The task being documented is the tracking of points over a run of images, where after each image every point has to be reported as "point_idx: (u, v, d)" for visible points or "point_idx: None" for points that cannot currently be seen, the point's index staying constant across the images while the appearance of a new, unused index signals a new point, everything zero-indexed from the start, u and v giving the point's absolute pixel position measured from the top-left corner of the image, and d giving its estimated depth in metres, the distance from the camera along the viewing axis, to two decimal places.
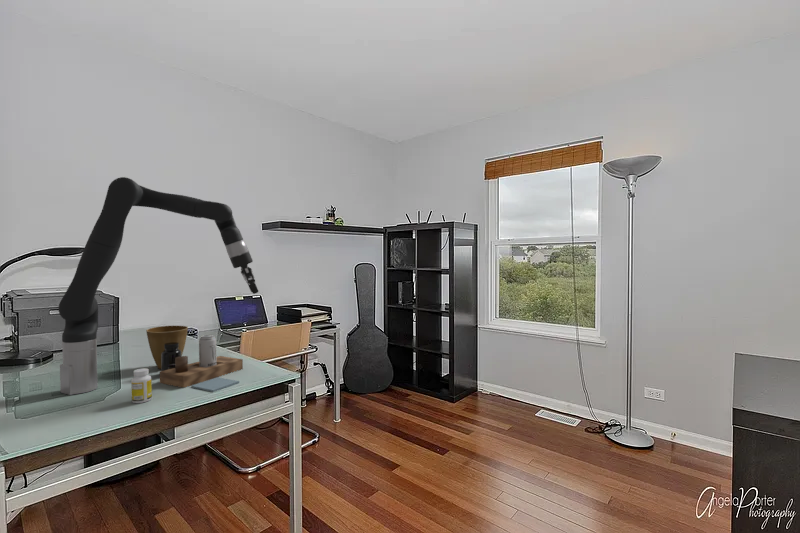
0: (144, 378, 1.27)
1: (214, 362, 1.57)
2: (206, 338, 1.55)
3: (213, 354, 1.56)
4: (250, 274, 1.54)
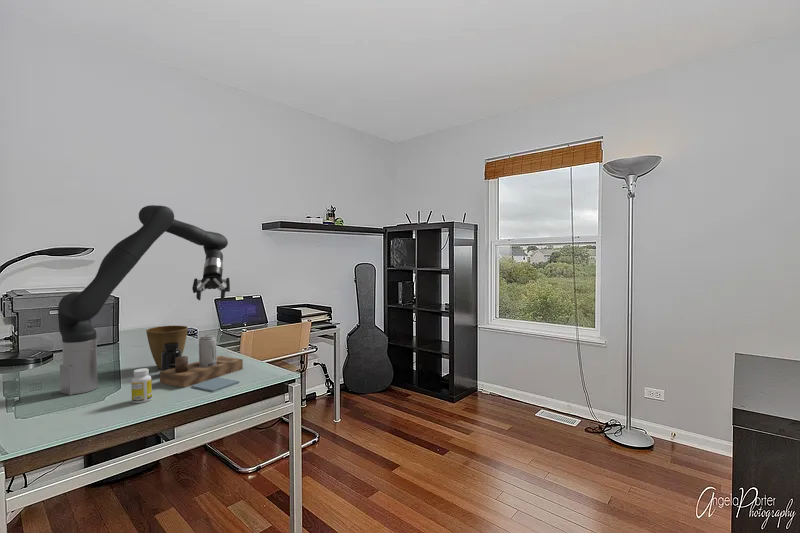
0: (144, 378, 1.27)
1: (214, 362, 1.57)
2: (206, 338, 1.55)
3: (213, 354, 1.56)
4: None
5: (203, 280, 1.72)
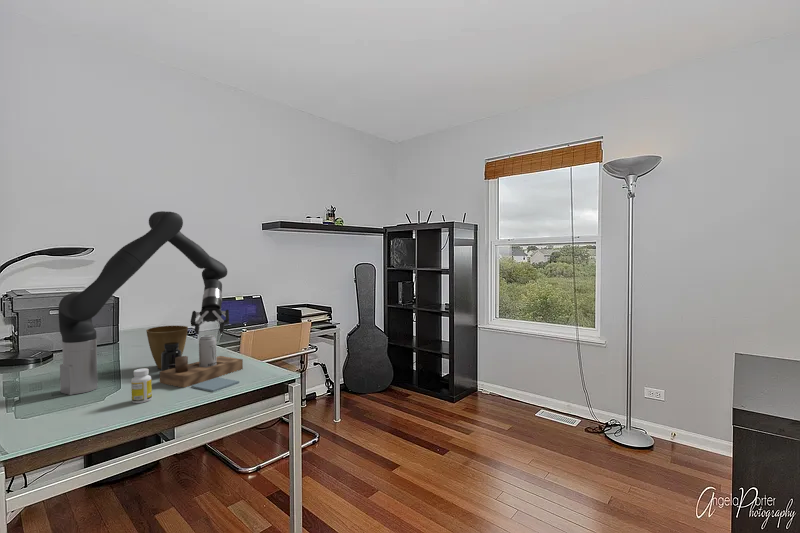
0: (144, 378, 1.27)
1: (214, 362, 1.57)
2: (206, 338, 1.55)
3: (213, 354, 1.56)
4: None
5: (202, 312, 1.68)
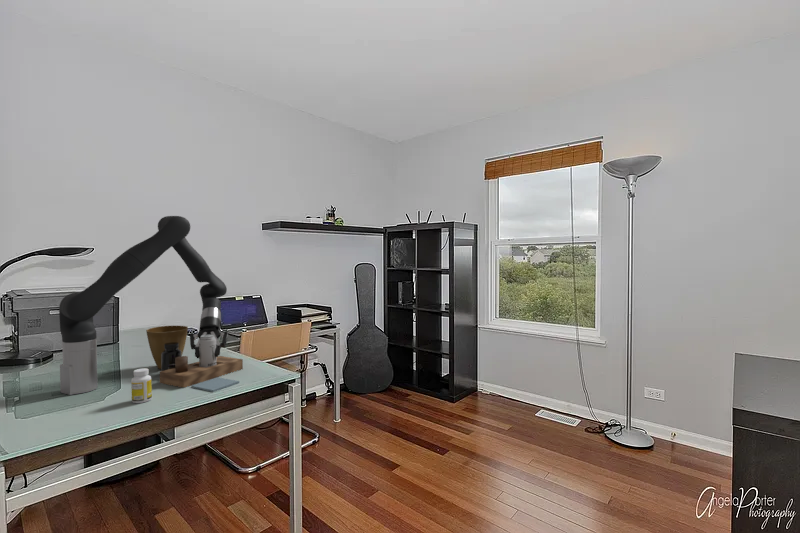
0: (144, 379, 1.27)
1: (214, 362, 1.57)
2: (206, 338, 1.55)
3: (213, 354, 1.56)
4: (226, 340, 1.63)
5: (200, 334, 1.61)
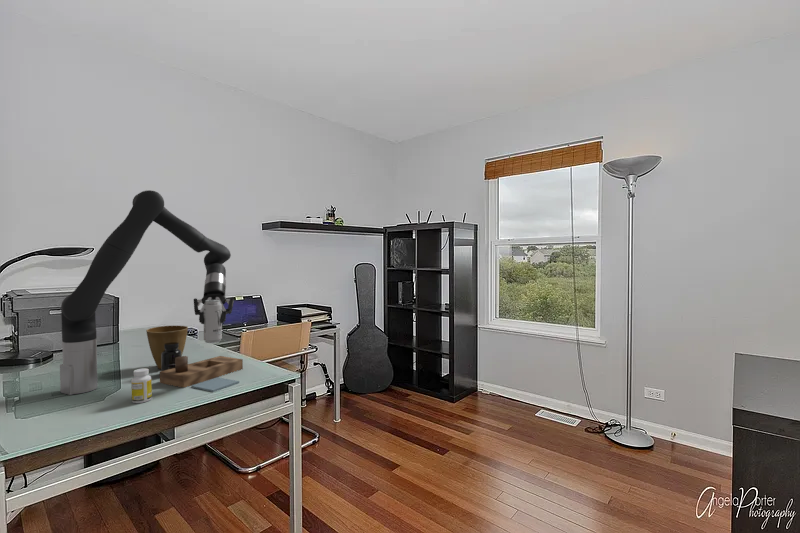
0: (144, 378, 1.27)
1: (219, 328, 1.48)
2: (211, 302, 1.46)
3: (218, 320, 1.47)
4: (232, 306, 1.54)
5: (204, 299, 1.51)
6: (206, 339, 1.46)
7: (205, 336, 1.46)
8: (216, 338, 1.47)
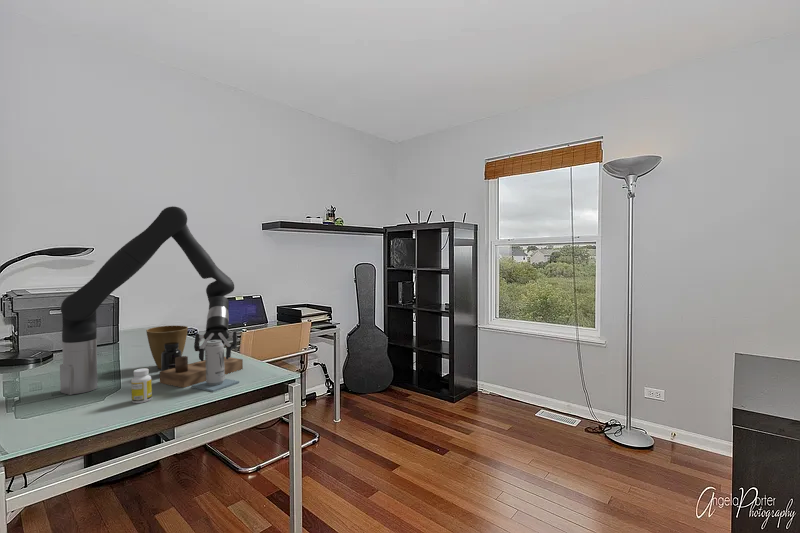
0: (144, 378, 1.27)
1: (222, 370, 1.44)
2: (213, 344, 1.42)
3: (221, 361, 1.43)
4: (236, 340, 1.50)
5: (206, 335, 1.47)
6: (208, 382, 1.42)
7: (207, 378, 1.42)
8: (219, 380, 1.43)
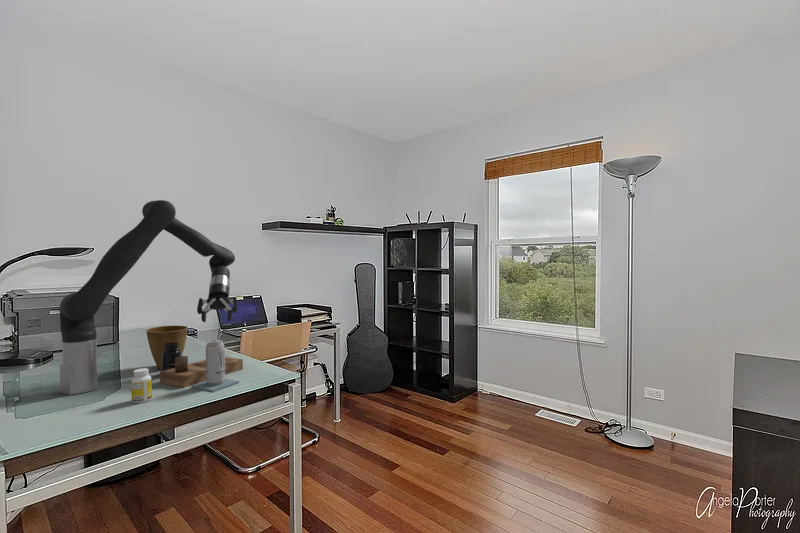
0: (144, 379, 1.27)
1: (222, 370, 1.44)
2: (214, 344, 1.42)
3: (221, 361, 1.43)
4: None
5: (209, 300, 1.60)
6: (208, 382, 1.42)
7: (207, 378, 1.42)
8: (219, 380, 1.43)
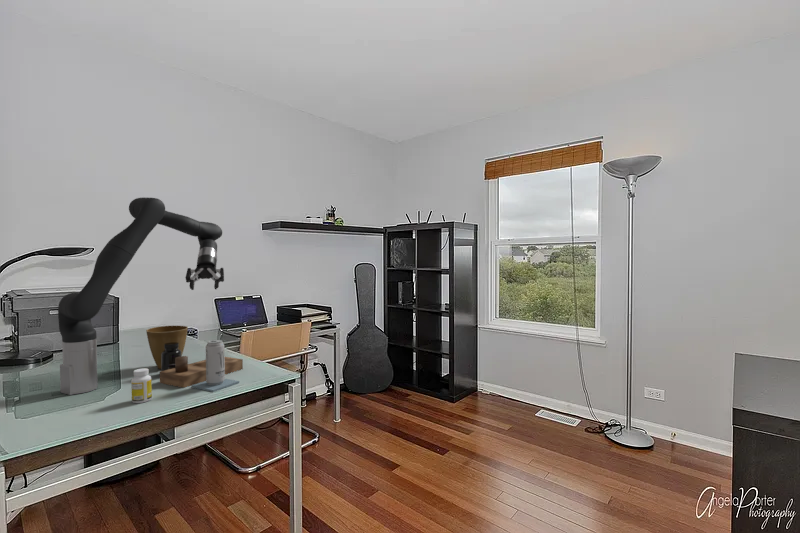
0: (144, 379, 1.27)
1: (222, 370, 1.44)
2: (213, 344, 1.42)
3: (221, 361, 1.43)
4: None
5: (197, 270, 1.69)
6: (208, 382, 1.42)
7: (207, 378, 1.42)
8: (219, 380, 1.43)
